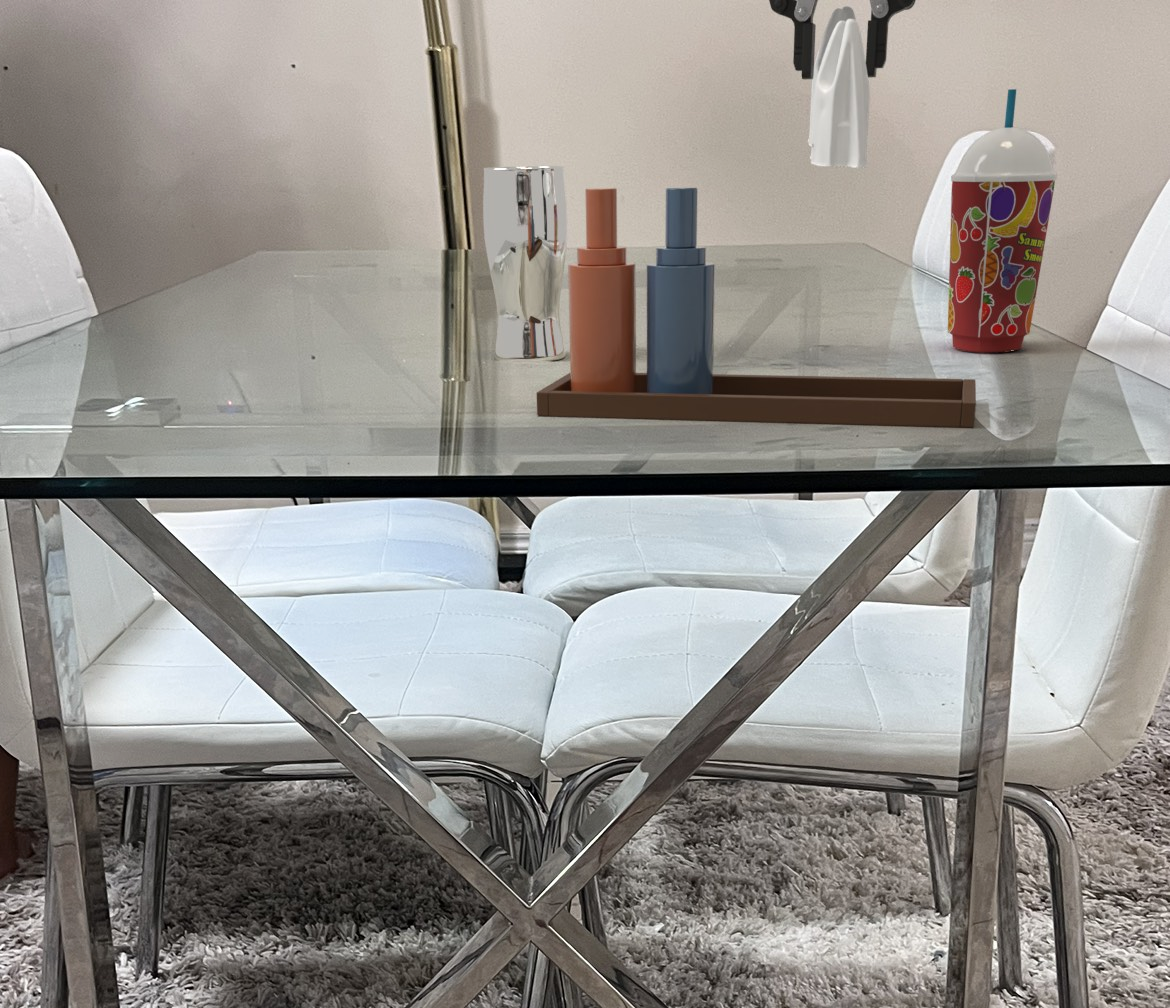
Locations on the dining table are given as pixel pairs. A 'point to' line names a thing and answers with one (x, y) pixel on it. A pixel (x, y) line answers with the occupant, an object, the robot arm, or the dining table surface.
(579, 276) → the terracotta bottle
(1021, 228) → the smoothie
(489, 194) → the beer glass
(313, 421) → the dining table surface
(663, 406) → the tray
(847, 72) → the shaker set
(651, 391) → the slate-blue bottle
